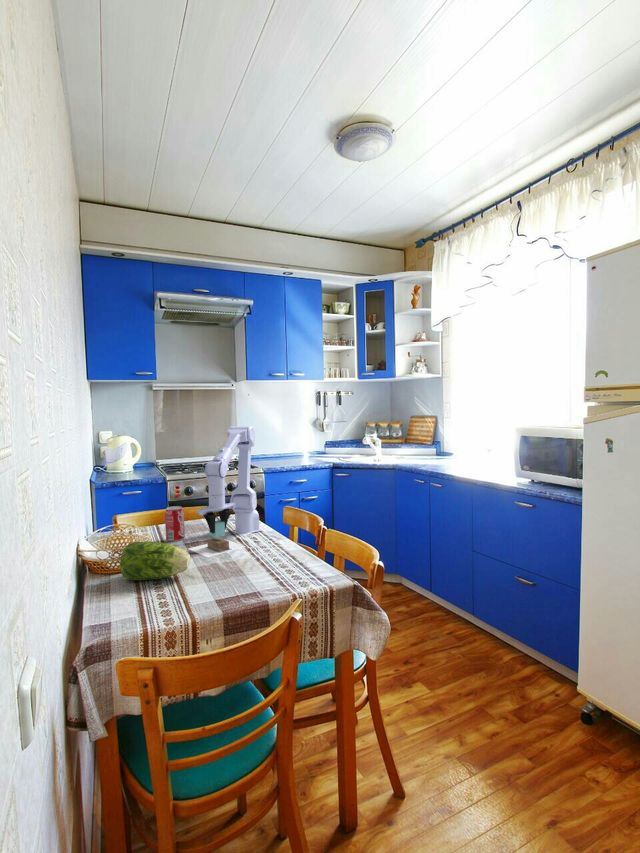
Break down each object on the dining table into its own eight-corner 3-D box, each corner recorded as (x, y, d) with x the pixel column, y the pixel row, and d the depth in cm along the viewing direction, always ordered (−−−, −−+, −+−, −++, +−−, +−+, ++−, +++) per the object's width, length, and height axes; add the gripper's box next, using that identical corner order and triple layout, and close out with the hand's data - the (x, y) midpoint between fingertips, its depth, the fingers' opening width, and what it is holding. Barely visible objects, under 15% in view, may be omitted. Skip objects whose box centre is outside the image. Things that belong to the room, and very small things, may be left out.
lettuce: (185, 585, 134) (183, 547, 133) (114, 586, 134) (113, 548, 133) (195, 571, 145) (194, 536, 145) (131, 572, 145) (129, 537, 145)
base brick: (217, 544, 171) (216, 536, 170) (229, 549, 165) (228, 541, 165) (207, 547, 168) (207, 539, 168) (219, 551, 162) (219, 543, 162)
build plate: (224, 540, 178) (224, 539, 178) (246, 548, 168) (246, 546, 168) (187, 550, 166) (187, 548, 166) (207, 559, 156) (207, 557, 156)
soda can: (181, 543, 176) (180, 509, 175) (163, 543, 176) (161, 509, 175) (187, 537, 183) (186, 505, 182) (169, 537, 183) (168, 505, 182)
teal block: (218, 533, 169) (218, 520, 169) (225, 535, 166) (224, 521, 166) (209, 535, 166) (209, 522, 166) (215, 537, 164) (215, 523, 163)
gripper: (227, 490, 173) (228, 525, 174) (193, 495, 163) (194, 533, 164) (238, 492, 168) (239, 528, 169) (203, 498, 158) (204, 537, 159)
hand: (217, 531), depth 166 cm, fingers closed on teal block, 4 cm apart
